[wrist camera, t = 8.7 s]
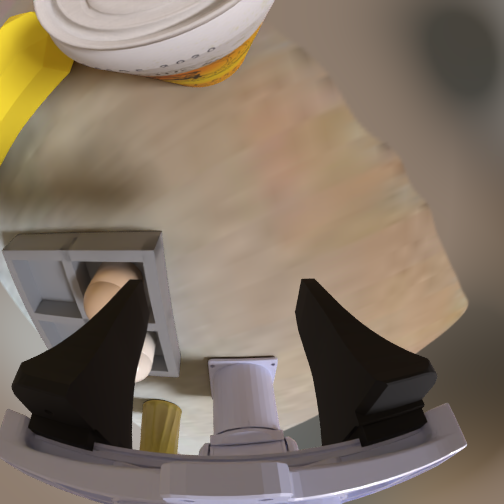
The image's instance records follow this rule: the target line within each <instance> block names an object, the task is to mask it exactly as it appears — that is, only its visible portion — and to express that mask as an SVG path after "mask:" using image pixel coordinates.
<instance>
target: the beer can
mask: <svg viewBox="0 0 504 504" xmlns="http://www.w3.org/2000/svg"><path fill="white" fill-rule="evenodd" d="M273 2H274V0H33V4H34V10H35V13H36V16H37V19H38V20H39V22H40V24H41V26H42V27H43V28H44V29H45V30H46V31H47V32H48V33H49V35H50V37H51V38H52V40H53V42H54V43H55V44H56V46H57V47H58V48H59V49H60V50H61V51H62V52H63V53H64V54H66V55H67V56H68V57H70V58H71V59H73V60H75V61H76V62H78V63H81V64H83V65H86V66H88V67H92V68H96V69H100V70H108V71H115V72H121V73H127V74H133V75H139V76H144V77H149V78H154V79H158V80H163V81H167V82H172V83H176V84H180V85H184V86H189V87H206V86H211V85H214V84H217V83H219V82H221V81H223V80H225V79H227V78H228V77H230V76H231V75H232V74H233V73H234V72H235V71H236V70H237V69H238V68H239V67H240V65H241V64H242V62H243V60H244V58H245V56H246V54H247V52H248V50H249V48H250V46H251V44H252V42H253V40H254V38H255V36H256V34H257V32H258V30H259V28H260V26H261V24H262V23H263V21H264V19H265V17H266V15H267V13H268V11H269V10H270V8H271V6H272V4H273Z"/></svg>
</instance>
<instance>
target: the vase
mask: <svg viewBox="0 0 504 504" xmlns="http://www.w3.org/2000/svg"><path fill="white" fill-rule="evenodd" d="M181 413H182V411H181V409H180V408H179V407H178V406H177V405H175V404H173V403H170V402H167V401H163V400H149V401H146V402H145V403H144V404H143V413H142V424H141V441H140V451H148V452H157V453H167V454H177V449H178V438H179V427H180V418H181Z"/></svg>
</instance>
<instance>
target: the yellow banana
mask: <svg viewBox="0 0 504 504" xmlns="http://www.w3.org/2000/svg"><path fill="white" fill-rule="evenodd" d="M73 62H74V60H73V59H71V58H70V57H68V56H67V55H66V54H64V53H63V52H62V51H61V50H60V49H59V48H58V47H57V46H56V44H55V43H54V42H53V40H52V38H51V37H50V35H49V33H48V32H47V31H46V30H45V29H44V28H43V27H42V26H41V24H40V22H39V20H38V19H37V16H36V13H35V12H27V13H23V14H19V15H16V16H12V17H10V18H9V19H8V20H7V21H6V22H5V23H4V25H3V26H2V27H1V28H0V166H1V164H2V162H3V160H4V158H5V156H6V154H7V153H8V151H9V149H10V147H11V145H12V144H13V142H14V140H15V139H16V137H17V135H18V134H19V132H20V131H21V129H22V128H23V127H24V125H25V124H26V122H27V121H28V120H29V119H30V117H31V116H32V115H33V113H34V112H35V111H36V110H37V108H38V107H39V106H40V105H41V104H42V102H43V101H44V100H45V99H46V98H47V96H48V95H49V94H50V93H51V92H52V91H53V90H54V89H55V87H56V86H57V85H58V84H59V83H60V82H61V81H62V80H63V79H64V78H65V77H66V76H67V75H68V74H69V73H70V70H71V67H72V64H73Z"/></svg>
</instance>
